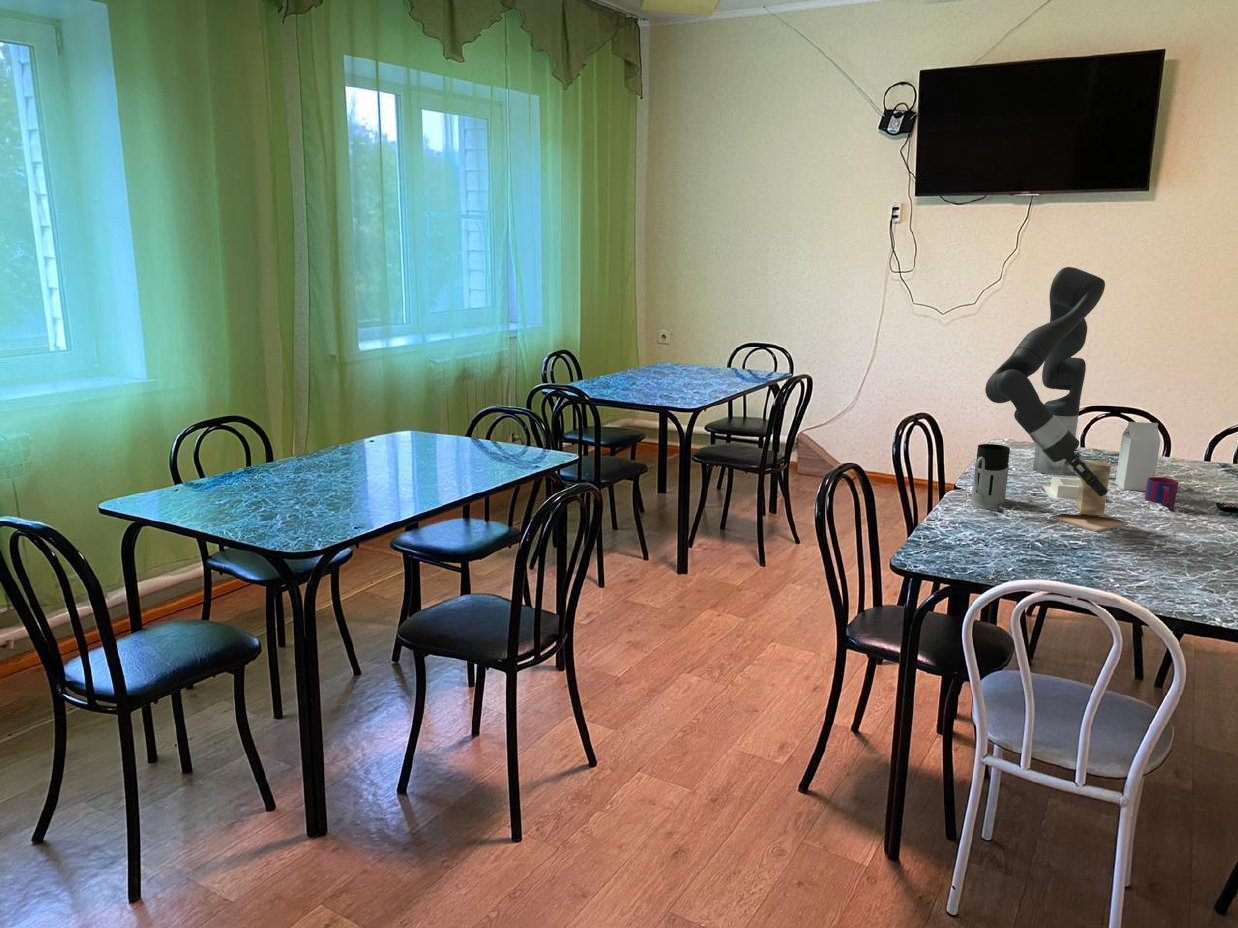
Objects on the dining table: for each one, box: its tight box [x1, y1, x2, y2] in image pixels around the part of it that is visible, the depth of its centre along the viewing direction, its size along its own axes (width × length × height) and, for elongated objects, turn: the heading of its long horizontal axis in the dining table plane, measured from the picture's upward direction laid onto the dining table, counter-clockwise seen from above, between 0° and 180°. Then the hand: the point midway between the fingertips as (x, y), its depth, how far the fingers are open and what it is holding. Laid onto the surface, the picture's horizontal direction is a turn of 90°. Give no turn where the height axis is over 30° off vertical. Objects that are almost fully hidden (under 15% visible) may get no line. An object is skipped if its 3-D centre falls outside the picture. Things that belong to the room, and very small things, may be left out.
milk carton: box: [1114, 421, 1161, 492], centre depth 245 cm, size 7×7×19 cm
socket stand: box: [1042, 476, 1107, 504], centre depth 239 cm, size 13×13×4 cm
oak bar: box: [1075, 459, 1112, 517], centre depth 219 cm, size 5×5×12 cm
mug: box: [1144, 476, 1179, 510], centre depth 233 cm, size 7×10×7 cm
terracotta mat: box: [1050, 513, 1129, 532], centre depth 221 cm, size 12×12×1 cm
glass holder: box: [968, 443, 1011, 511], centre depth 230 cm, size 9×14×15 cm, turn 137°
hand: (1101, 490), depth 219 cm, fingers closed on oak bar, 5 cm apart
